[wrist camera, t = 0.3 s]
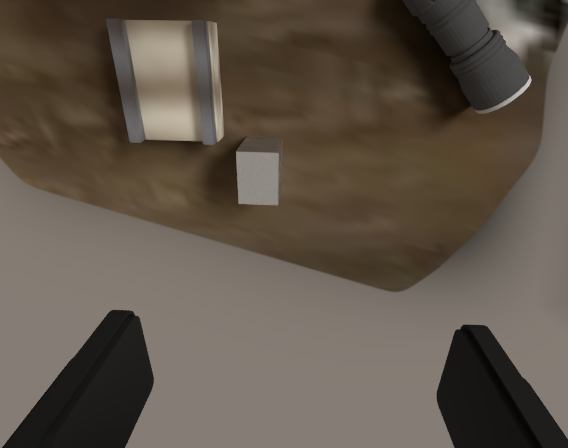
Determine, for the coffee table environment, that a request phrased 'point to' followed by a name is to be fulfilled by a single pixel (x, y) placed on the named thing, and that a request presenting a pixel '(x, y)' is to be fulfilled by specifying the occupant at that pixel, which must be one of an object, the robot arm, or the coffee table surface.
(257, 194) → the tall white block
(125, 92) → the cradle
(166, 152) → the coffee table surface
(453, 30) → the flashlight
